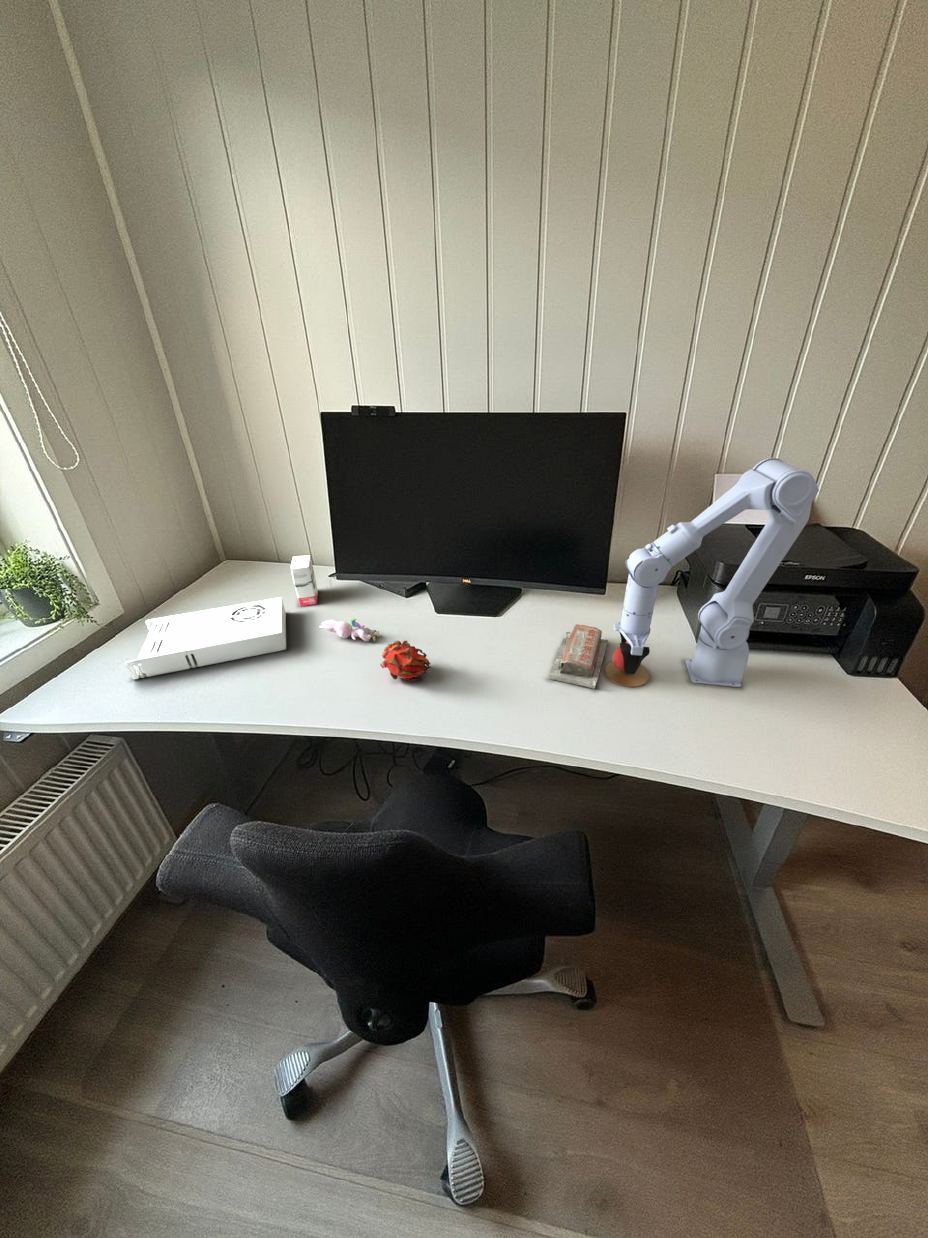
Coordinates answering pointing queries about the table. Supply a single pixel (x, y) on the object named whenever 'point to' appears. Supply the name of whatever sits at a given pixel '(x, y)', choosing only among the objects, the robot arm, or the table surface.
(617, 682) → the coaster
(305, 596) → the ink box
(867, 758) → the table surface
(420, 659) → the dragon fruit
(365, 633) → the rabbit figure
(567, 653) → the packaged product
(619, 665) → the onion
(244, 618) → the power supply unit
